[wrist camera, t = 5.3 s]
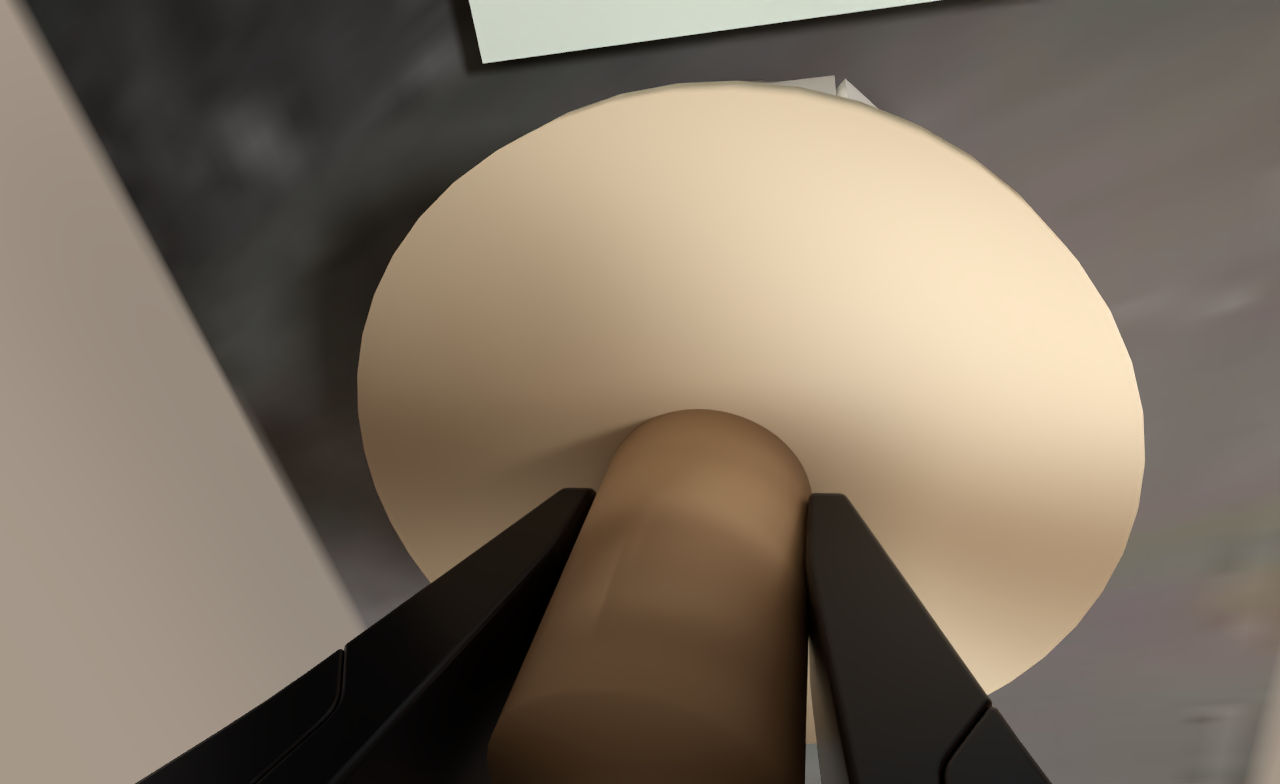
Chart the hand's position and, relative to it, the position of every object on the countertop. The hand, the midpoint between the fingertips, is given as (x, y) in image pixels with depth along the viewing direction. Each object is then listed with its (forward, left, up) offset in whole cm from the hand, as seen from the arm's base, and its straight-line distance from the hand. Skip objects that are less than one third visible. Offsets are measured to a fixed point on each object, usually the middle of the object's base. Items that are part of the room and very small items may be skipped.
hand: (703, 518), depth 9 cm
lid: (0, 0, -1) cm, 1 cm away
